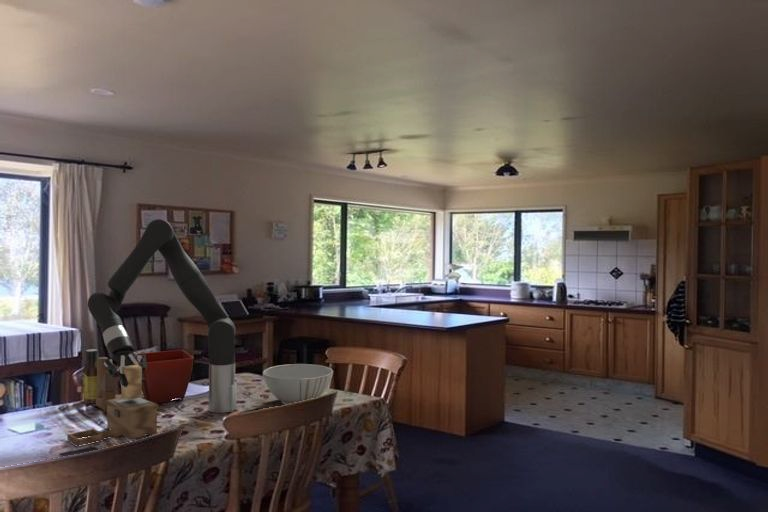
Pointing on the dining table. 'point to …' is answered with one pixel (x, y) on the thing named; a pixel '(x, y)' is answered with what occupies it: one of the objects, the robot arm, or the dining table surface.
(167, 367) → the plant pot
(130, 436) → the brown box with frame
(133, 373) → the tan cylinder
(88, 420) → the dining table surface
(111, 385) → the wooden block
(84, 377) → the sauce bottle
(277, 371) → the decorative bowl
